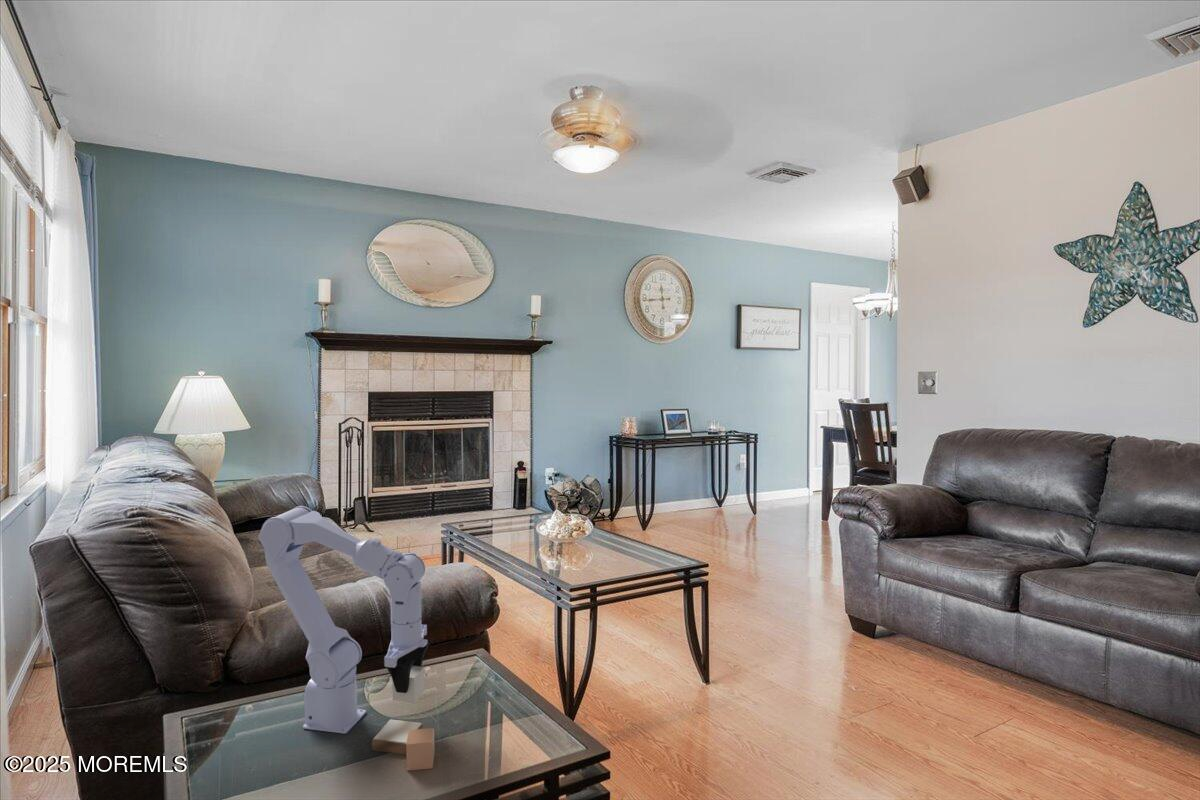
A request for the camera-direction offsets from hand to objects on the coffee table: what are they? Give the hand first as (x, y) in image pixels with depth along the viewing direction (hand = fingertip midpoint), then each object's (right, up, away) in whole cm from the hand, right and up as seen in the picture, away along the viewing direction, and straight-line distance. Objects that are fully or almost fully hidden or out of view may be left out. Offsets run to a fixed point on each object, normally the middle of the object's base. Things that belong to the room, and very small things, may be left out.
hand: (407, 685), depth 137 cm
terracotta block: (+5, -10, -10) cm, 15 cm away
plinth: (-1, -10, -3) cm, 10 cm away
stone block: (0, -2, 0) cm, 2 cm away
